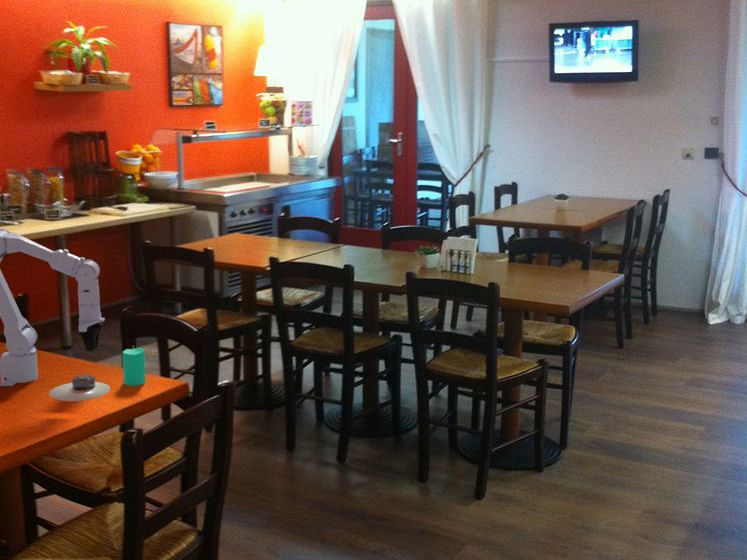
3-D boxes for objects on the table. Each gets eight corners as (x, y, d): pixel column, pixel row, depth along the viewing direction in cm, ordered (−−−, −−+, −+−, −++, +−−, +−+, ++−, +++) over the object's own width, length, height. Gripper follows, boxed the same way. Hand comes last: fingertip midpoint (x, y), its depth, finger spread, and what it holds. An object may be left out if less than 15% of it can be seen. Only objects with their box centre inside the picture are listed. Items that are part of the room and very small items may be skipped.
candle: (148, 383, 258) (147, 343, 255) (141, 390, 252) (139, 349, 249) (128, 382, 258) (126, 342, 256) (120, 389, 253) (118, 348, 250)
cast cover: (69, 390, 248) (69, 379, 247) (76, 383, 253) (76, 372, 253) (91, 390, 248) (90, 380, 247) (97, 383, 253) (97, 373, 253)
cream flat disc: (40, 404, 239) (40, 400, 239) (61, 385, 255) (60, 381, 255) (100, 405, 240) (100, 401, 239) (117, 385, 255) (117, 381, 255)
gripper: (95, 310, 247) (98, 357, 250) (110, 297, 261) (112, 342, 264) (70, 309, 247) (72, 357, 250) (86, 297, 261) (88, 342, 264)
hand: (91, 349), depth 257 cm, fingers closed
